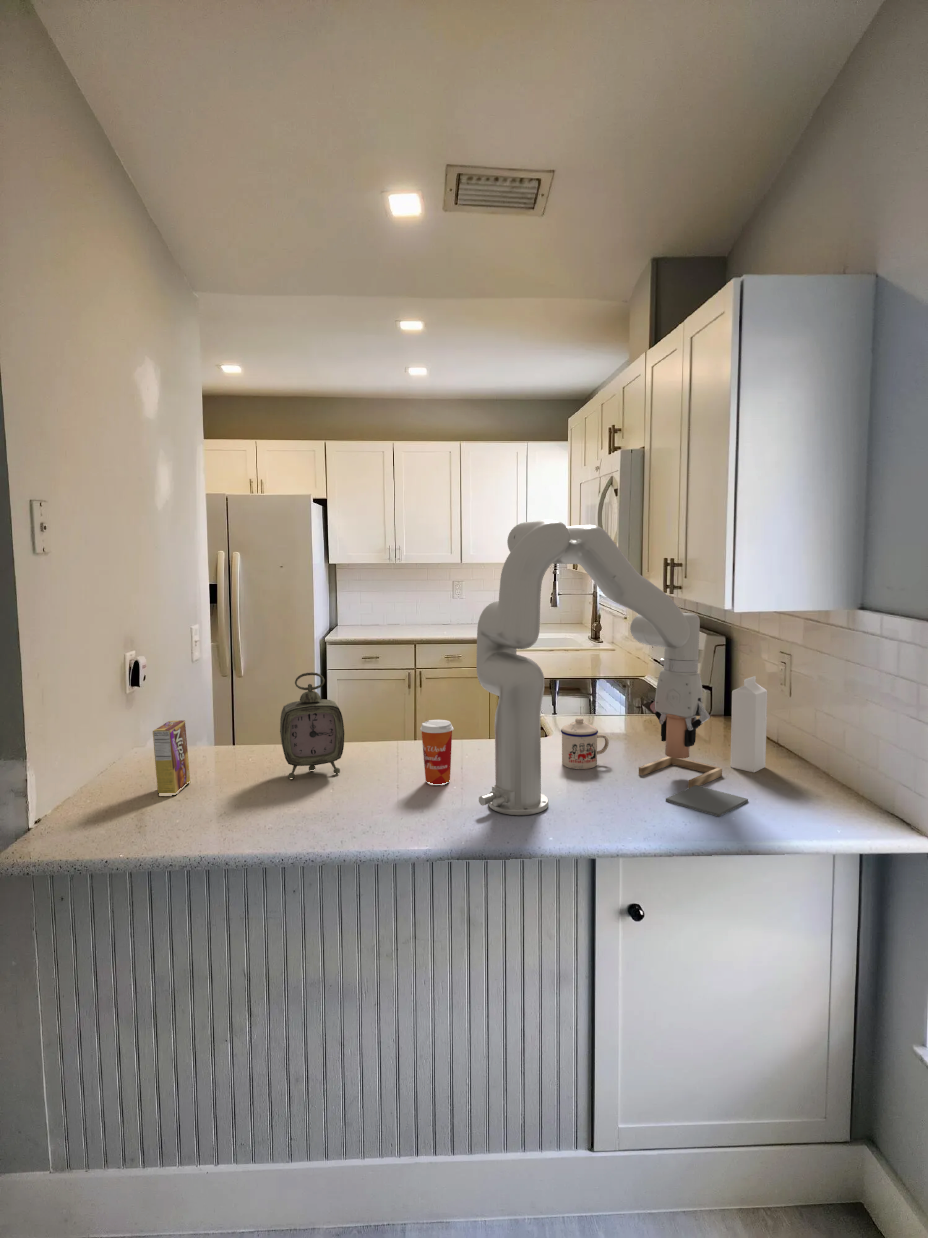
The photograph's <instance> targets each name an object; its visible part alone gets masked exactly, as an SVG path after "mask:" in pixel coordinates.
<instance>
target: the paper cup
mask: <svg viewBox="0 0 928 1238" xmlns="http://www.w3.org/2000/svg"><path fill="white" fill-rule="evenodd" d="M419 730H420V731H421V741H422V743H421V744H422V754H423V764H424V765H423V766H424V776H425V782H426V781H427V782H430V783H433V784H442V783H446V782H449V780H450V781H451V769H452V768H451V767H452V766H451V765H452V764H451V763H452V739H453V730H455V729H454V727H453V725H452V723H451V721H450V720H446V719H430V720H426V721H424V722H422V723H421V726H420V728H419ZM449 783H450V782H449Z"/></svg>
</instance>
